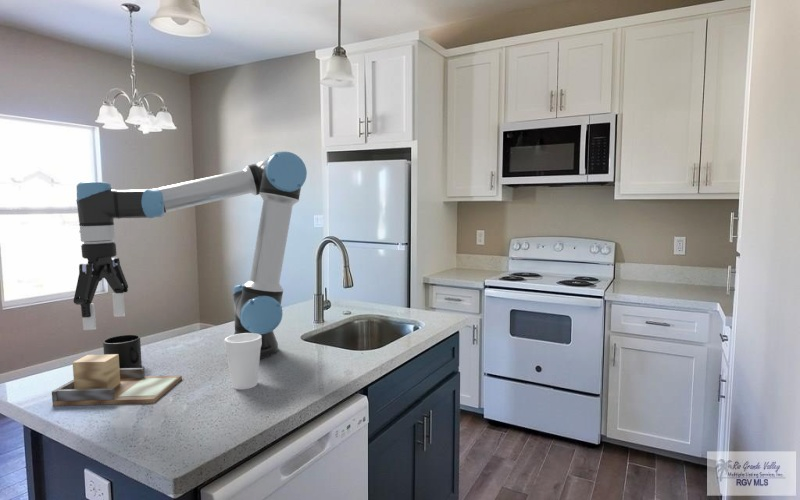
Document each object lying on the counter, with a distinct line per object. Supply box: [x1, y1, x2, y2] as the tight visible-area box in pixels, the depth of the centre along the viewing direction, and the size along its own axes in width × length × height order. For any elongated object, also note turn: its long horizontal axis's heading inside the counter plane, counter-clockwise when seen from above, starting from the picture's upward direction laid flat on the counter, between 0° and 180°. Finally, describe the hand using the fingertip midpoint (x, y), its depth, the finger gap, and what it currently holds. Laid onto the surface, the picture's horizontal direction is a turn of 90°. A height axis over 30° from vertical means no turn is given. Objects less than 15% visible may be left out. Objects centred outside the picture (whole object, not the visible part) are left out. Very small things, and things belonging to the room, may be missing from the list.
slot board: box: [51, 367, 183, 407], centre depth 119 cm, size 24×16×4 cm, turn 93°
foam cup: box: [224, 333, 262, 390], centre depth 123 cm, size 10×9×13 cm
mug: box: [102, 334, 143, 368], centre depth 136 cm, size 9×12×9 cm
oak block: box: [72, 354, 120, 389], centre depth 119 cm, size 8×6×8 cm
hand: (105, 322), depth 121 cm, fingers open, 13 cm apart
